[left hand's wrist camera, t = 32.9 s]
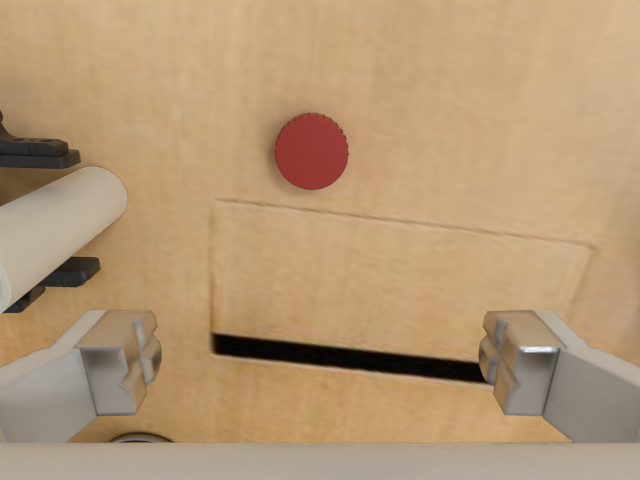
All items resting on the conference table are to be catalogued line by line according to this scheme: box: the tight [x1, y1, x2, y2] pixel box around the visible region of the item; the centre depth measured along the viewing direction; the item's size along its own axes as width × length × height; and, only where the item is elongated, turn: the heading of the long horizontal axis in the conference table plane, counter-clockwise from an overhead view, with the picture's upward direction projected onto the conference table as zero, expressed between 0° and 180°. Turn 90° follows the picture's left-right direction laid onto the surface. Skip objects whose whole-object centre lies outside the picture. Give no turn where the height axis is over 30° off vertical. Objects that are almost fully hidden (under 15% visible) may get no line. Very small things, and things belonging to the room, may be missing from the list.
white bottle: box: [0, 166, 128, 314], centre depth 25 cm, size 4×4×16 cm
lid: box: [275, 113, 349, 190], centre depth 31 cm, size 5×5×2 cm
